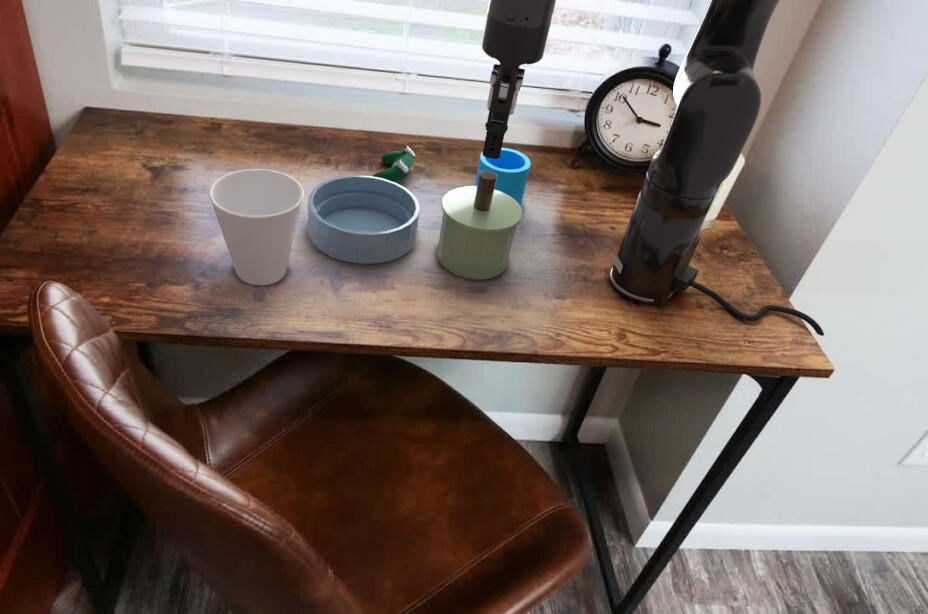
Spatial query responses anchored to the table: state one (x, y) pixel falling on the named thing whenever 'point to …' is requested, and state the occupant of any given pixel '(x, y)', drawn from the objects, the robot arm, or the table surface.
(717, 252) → the table surface
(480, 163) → the mug
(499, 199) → the lid
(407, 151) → the gaming controller
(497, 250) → the canister
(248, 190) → the cup
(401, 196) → the bowl
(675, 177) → the robot arm
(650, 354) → the table surface
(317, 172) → the table surface
